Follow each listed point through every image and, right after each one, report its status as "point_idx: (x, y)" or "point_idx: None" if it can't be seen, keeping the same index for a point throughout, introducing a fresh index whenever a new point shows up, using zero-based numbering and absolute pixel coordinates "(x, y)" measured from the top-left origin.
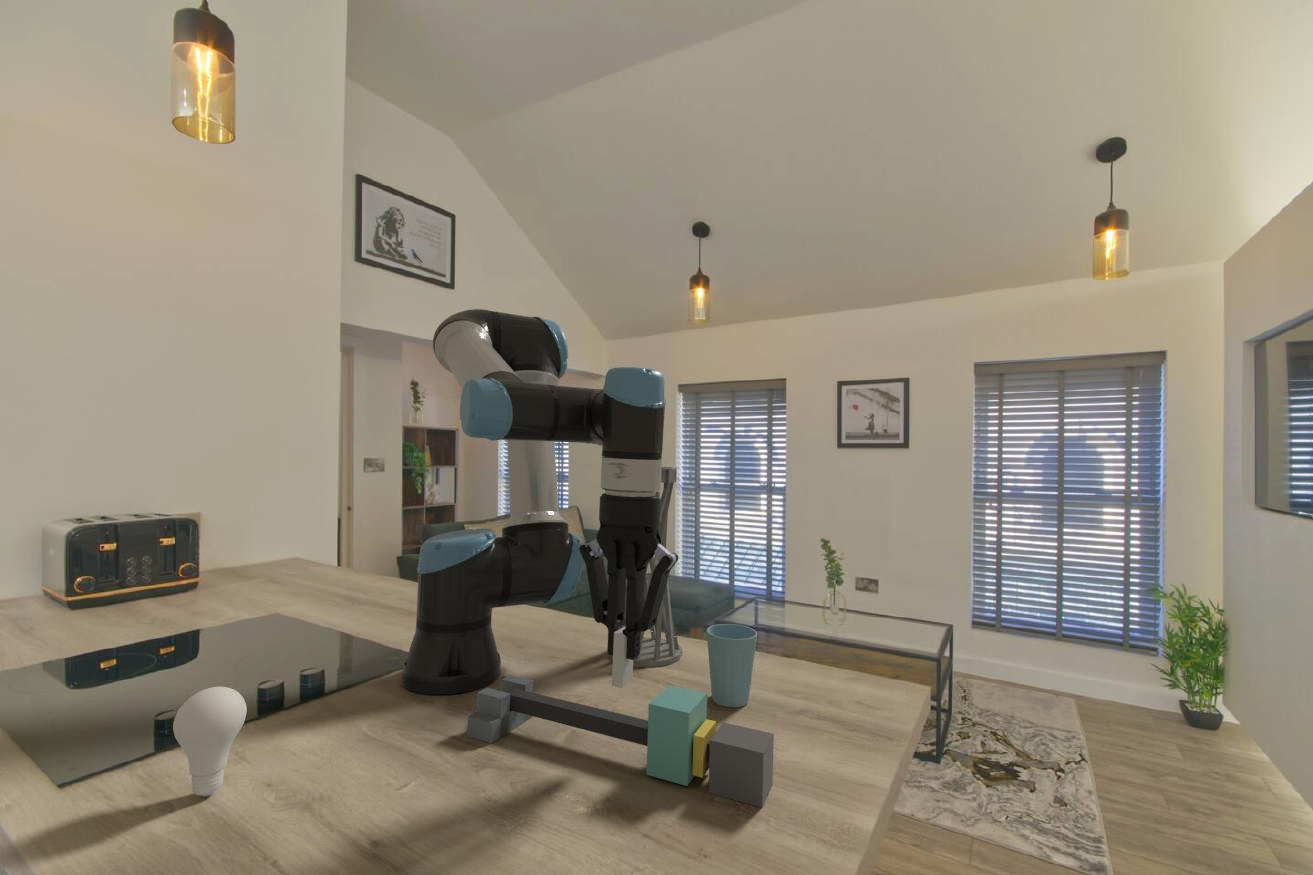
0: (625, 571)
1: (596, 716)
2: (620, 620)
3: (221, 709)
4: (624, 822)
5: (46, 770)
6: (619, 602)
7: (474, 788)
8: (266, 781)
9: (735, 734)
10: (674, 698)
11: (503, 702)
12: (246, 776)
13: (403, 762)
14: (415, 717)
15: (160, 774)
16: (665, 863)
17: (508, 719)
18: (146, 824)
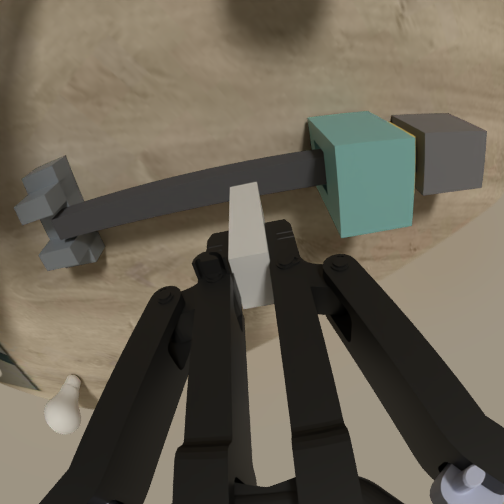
0: (234, 452)
1: (213, 203)
2: (233, 298)
3: (73, 427)
4: None
5: (21, 386)
6: (241, 362)
7: None
8: (74, 359)
9: (448, 160)
10: (372, 194)
11: (79, 256)
12: (62, 361)
13: (93, 310)
14: (15, 261)
15: (42, 374)
16: (389, 273)
17: None
18: (92, 392)
